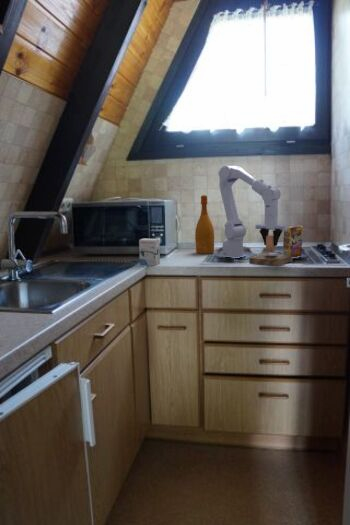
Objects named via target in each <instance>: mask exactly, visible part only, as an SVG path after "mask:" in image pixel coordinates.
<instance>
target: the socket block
mask: <svg viewBox="0 0 350 525" xmlns="http://www.w3.org/2000/svg"><path fill="white" fill-rule="evenodd" d="M248 260H249V264H254V265H263V266H264V265H265V266H270V267H271V266H273V267H280V266H282V265H285V264H287V263H289V262H292V259H291V255H283V254H280V253H279V254H276V253H269V252H268V253H266V252H263V253H260V254H257V255H254V256H251V257H249V259H248Z"/></svg>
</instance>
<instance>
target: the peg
mask: <svg viewBox="0 0 350 525" xmlns="http://www.w3.org/2000/svg"><path fill="white" fill-rule="evenodd" d="M265 252H268V253H271V252H272V253H273V252H276V246H274V236H273V234H271V235H270V234H268V235H266V245H265Z"/></svg>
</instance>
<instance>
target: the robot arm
mask: <svg viewBox="0 0 350 525" xmlns="http://www.w3.org/2000/svg"><path fill="white" fill-rule="evenodd" d="M218 176H219V191H220V194H221V195H220V196H221V199H222V204H223V207H224V212H225V217H226V222H225V224H224V235H225V239H224V240H223V241H222V256H231V257H240V256H243V255H244V256H246V257H247V255H245V254H244V237H245V236H246V233H247V229H246V227H245V225H244V223H243V221H242V220H241V219H240V218H239V215H238V214H239V213H238V210H237V206H236V201H235V197H234V192H233V189H232V187H233V185H234V184H235V183H236V182H237V181H238V180H239V179H240V180H241V181H242V182H244V183H246V184H248V185H249V186H251V190H252V191H254V192H255V193H257V194H258V195H260V196H261V198H262V201H263V204H264V224H263V223H262V224H255V226H254V227H255V230H259V233H260V235H261V238H262V240H263V246H266V235H269V232H270V230H272V235H273V236H274V246H275V247H277V246H278V244H279V243H278V242H279V239H280V237H281V235H282V233H283V231H284V230H287V227H288V225H284V224H283V225H282V224H278V222H279V221H278V216H279V214H278V210H279V205H278V204H279V200H280V199H281V190H279V189H278V187H272V185H271V184H268V183H266V181H265V180H264V179H263V178H257V179H256V178H255V177H254V176H252V175H251V174H249V173H248V172H247V171H246V170H244V168H242V167H241V166H239V165H223V166H222V167H221V168H220V169H219V171H218Z"/></svg>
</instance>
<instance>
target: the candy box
mask: <svg viewBox="0 0 350 525" xmlns="http://www.w3.org/2000/svg"><path fill="white" fill-rule="evenodd" d="M303 229H304V226H303V225H293V226H292V225H291V226H287V230H283V242H282V243H283V244H282V245H283V246H282V255H291V258H292V257H297V256H301V257H302V254H303V252H302V250H303Z"/></svg>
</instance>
